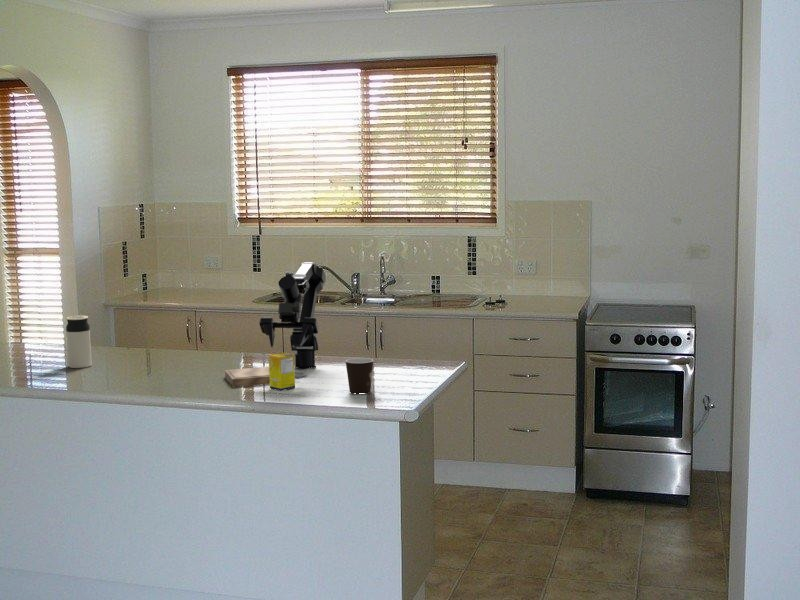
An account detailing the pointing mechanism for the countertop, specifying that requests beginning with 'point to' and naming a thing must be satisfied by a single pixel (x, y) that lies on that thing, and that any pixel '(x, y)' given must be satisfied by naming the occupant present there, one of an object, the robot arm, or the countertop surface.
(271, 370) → the supplement box
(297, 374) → the grey coaster
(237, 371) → the walnut stand
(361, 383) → the coffee mug
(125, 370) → the countertop surface
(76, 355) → the travel mug
